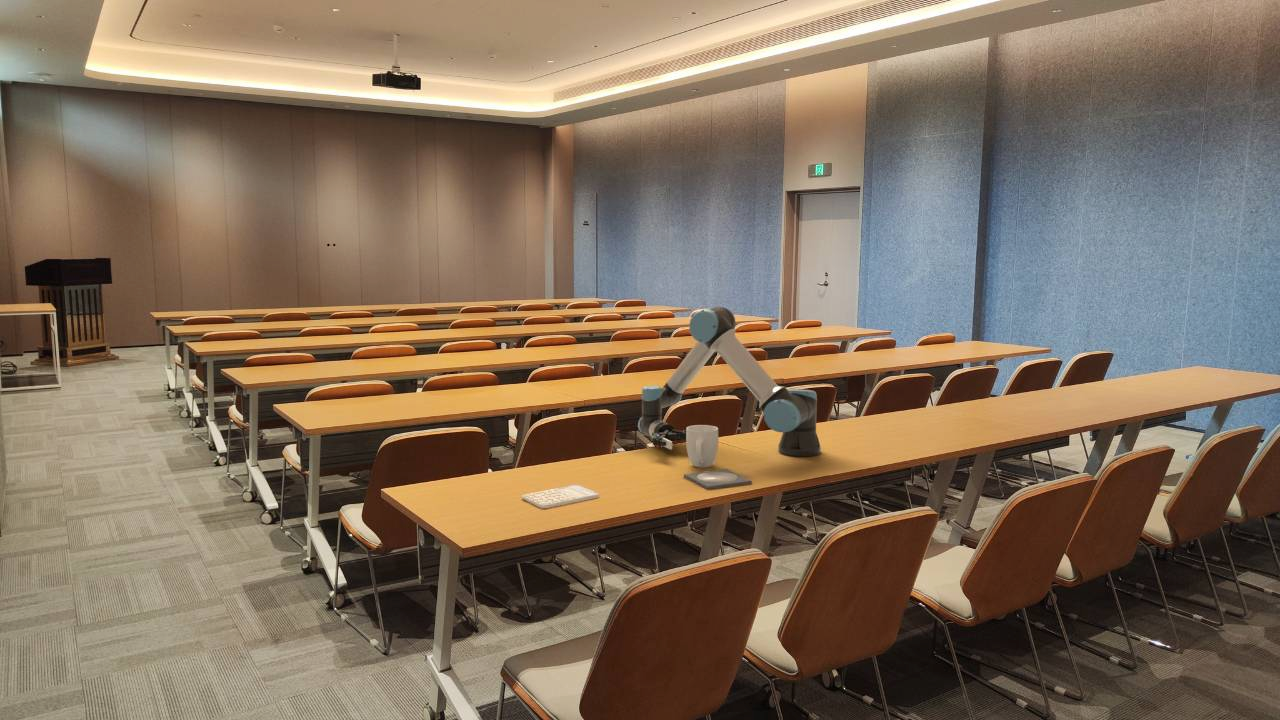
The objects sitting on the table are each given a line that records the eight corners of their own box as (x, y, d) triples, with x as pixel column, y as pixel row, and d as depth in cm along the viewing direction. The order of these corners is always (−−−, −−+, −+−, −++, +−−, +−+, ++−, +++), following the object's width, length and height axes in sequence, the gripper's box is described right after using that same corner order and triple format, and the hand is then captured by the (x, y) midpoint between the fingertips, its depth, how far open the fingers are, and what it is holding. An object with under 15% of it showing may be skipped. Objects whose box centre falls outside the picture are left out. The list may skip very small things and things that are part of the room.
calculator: (520, 500, 258) (520, 494, 258) (576, 488, 270) (576, 483, 269) (542, 511, 247) (542, 504, 247) (600, 498, 259) (600, 492, 259)
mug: (714, 473, 285) (715, 434, 284) (682, 471, 288) (682, 433, 286) (719, 462, 300) (720, 425, 298) (688, 460, 302) (688, 424, 300)
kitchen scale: (726, 471, 287) (726, 468, 287) (751, 483, 273) (751, 479, 273) (683, 477, 281) (683, 473, 281) (707, 489, 266) (707, 485, 266)
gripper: (692, 438, 327) (719, 450, 308) (631, 445, 317) (656, 457, 298) (692, 419, 326) (719, 430, 307) (631, 425, 316) (656, 436, 297)
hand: (688, 443), depth 302 cm, fingers open, 13 cm apart
